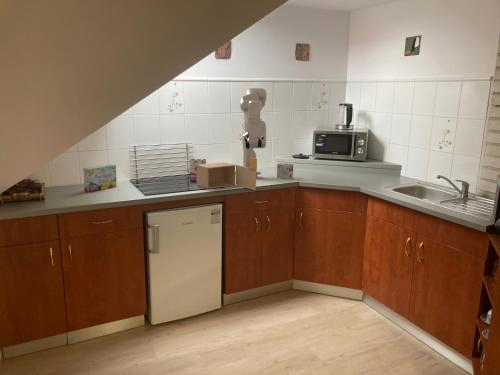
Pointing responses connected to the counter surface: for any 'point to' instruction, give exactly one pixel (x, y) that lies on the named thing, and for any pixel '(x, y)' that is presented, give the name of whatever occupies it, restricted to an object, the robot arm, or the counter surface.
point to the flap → (247, 174)
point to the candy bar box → (195, 167)
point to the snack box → (99, 177)
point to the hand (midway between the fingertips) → (253, 147)
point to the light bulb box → (285, 170)
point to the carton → (215, 175)
